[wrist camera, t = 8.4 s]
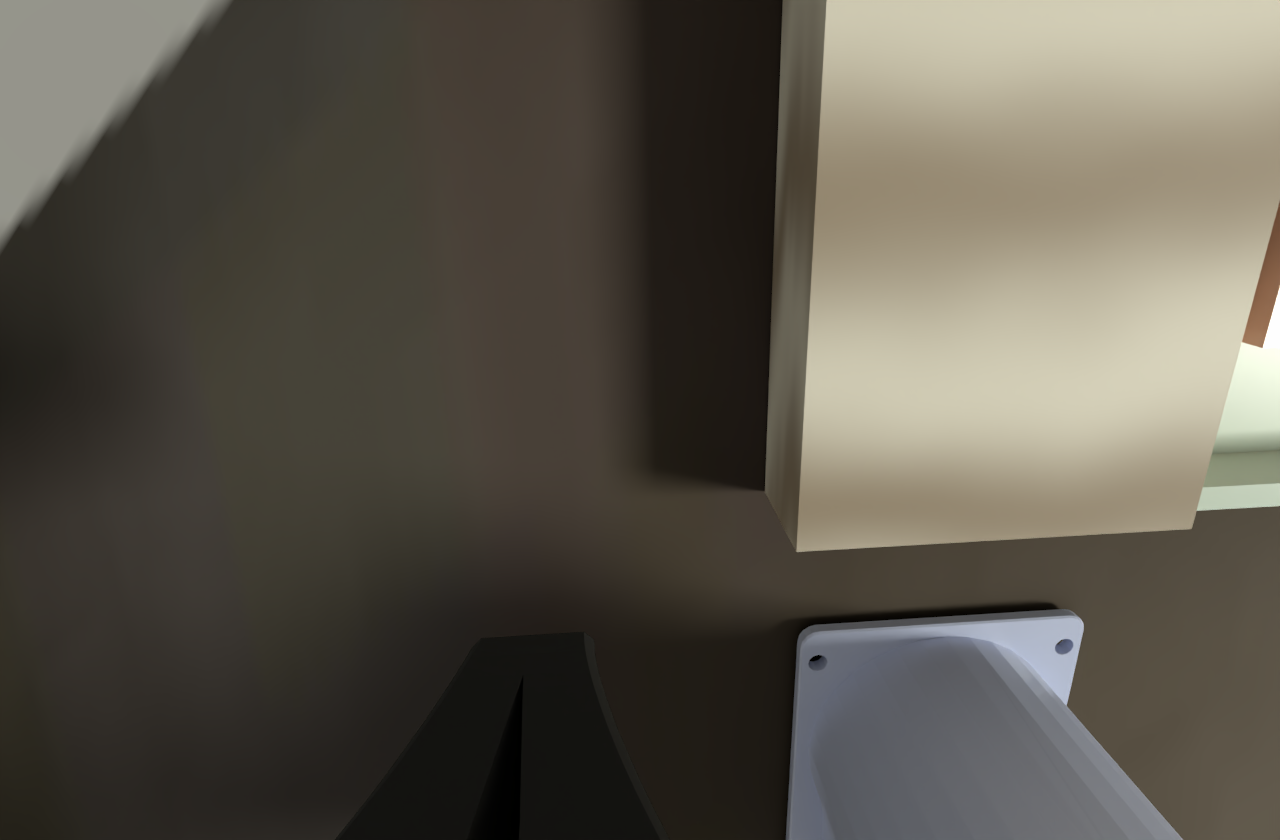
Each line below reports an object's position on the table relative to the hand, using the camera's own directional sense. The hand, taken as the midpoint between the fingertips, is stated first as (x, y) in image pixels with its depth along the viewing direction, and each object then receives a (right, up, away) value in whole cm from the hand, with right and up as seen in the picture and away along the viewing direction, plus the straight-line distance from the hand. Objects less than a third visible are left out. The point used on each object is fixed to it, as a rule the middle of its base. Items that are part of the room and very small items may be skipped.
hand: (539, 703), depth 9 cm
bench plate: (+9, +8, +8) cm, 14 cm away
